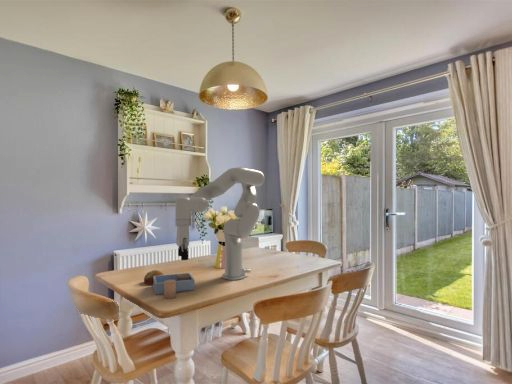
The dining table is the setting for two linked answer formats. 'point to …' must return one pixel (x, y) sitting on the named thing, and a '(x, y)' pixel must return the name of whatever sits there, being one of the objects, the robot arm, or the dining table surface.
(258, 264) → the dining table surface
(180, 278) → the walnut cube
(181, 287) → the tote
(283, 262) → the dining table surface
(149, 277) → the bread roll
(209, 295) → the dining table surface
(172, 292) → the terracotta cylinder
